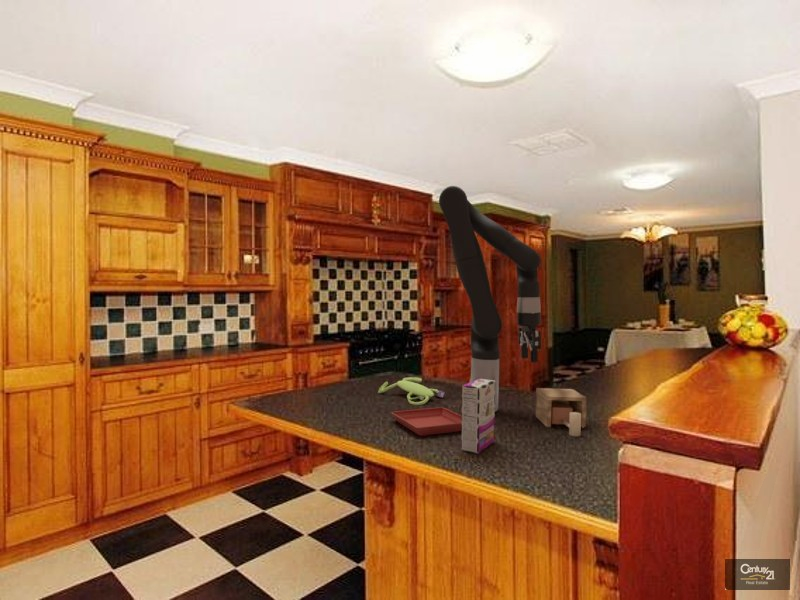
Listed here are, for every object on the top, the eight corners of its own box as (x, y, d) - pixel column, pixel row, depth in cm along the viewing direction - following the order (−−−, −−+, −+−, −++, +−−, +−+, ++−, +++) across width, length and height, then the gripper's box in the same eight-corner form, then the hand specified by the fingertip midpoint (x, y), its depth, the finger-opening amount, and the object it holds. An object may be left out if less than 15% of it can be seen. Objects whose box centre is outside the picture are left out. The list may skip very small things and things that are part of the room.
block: (565, 436, 130) (566, 414, 130) (546, 418, 148) (546, 399, 148) (587, 436, 130) (588, 415, 130) (565, 419, 148) (565, 400, 148)
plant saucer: (390, 422, 142) (390, 411, 142) (442, 416, 149) (442, 406, 149) (416, 439, 125) (417, 427, 125) (474, 433, 133) (474, 421, 133)
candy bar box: (477, 438, 126) (478, 377, 126) (494, 442, 124) (496, 380, 123) (459, 450, 117) (461, 384, 116) (478, 454, 114) (480, 387, 114)
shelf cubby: (546, 427, 139) (547, 396, 139) (535, 416, 151) (536, 388, 151) (585, 428, 139) (586, 397, 139) (571, 417, 151) (572, 389, 151)
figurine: (411, 387, 193) (412, 374, 193) (455, 401, 171) (456, 385, 171) (373, 392, 182) (373, 378, 182) (415, 407, 160) (415, 391, 160)
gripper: (510, 310, 162) (511, 357, 162) (525, 312, 148) (525, 364, 148) (531, 309, 162) (532, 356, 163) (548, 312, 148) (549, 363, 149)
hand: (529, 360), depth 155 cm, fingers open, 8 cm apart
